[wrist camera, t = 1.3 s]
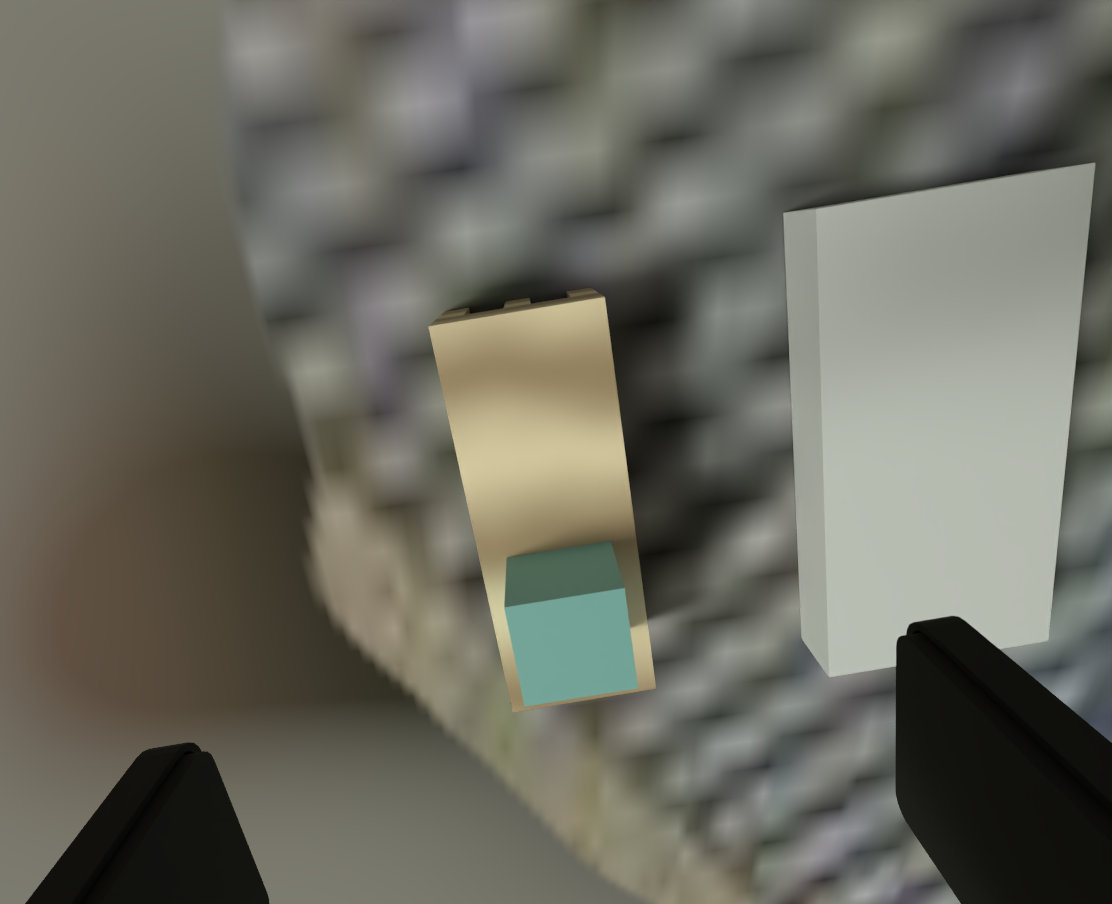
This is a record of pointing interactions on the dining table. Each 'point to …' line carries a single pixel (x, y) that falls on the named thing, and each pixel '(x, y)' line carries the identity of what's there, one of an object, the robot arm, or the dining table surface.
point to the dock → (933, 407)
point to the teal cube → (569, 624)
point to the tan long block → (541, 447)
